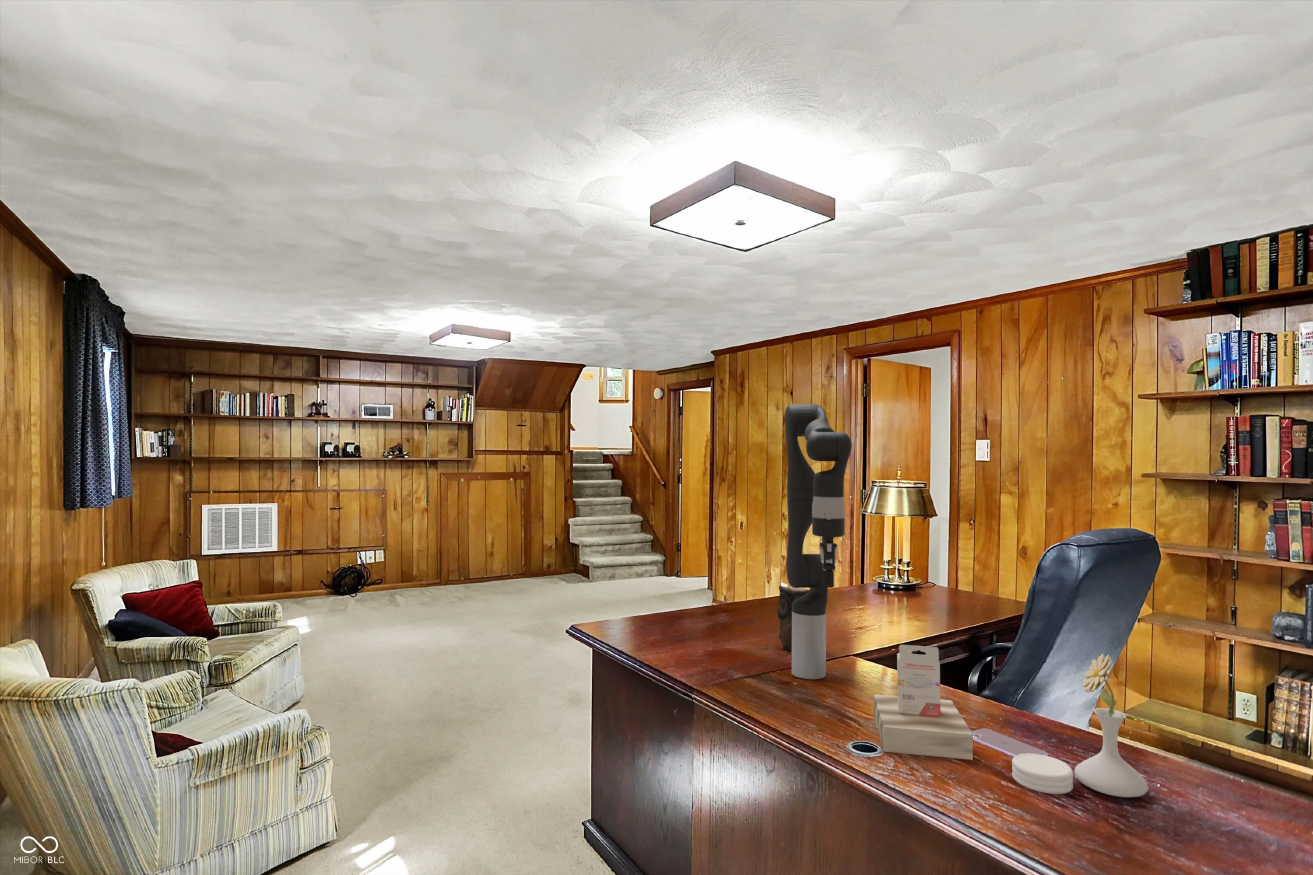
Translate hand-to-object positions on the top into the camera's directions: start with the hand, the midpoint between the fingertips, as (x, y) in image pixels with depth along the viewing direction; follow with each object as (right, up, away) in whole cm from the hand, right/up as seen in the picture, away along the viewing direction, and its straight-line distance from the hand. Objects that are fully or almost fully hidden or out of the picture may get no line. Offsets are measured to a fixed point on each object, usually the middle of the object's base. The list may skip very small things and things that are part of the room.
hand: (827, 584), depth 164 cm
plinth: (+16, -30, -15) cm, 37 cm away
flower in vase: (+42, -30, -38) cm, 64 cm away
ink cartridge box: (+16, -25, -14) cm, 33 cm away
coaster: (+31, -30, -35) cm, 56 cm away
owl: (+5, -32, +51) cm, 60 cm away
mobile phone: (+33, -31, -18) cm, 48 cm away
